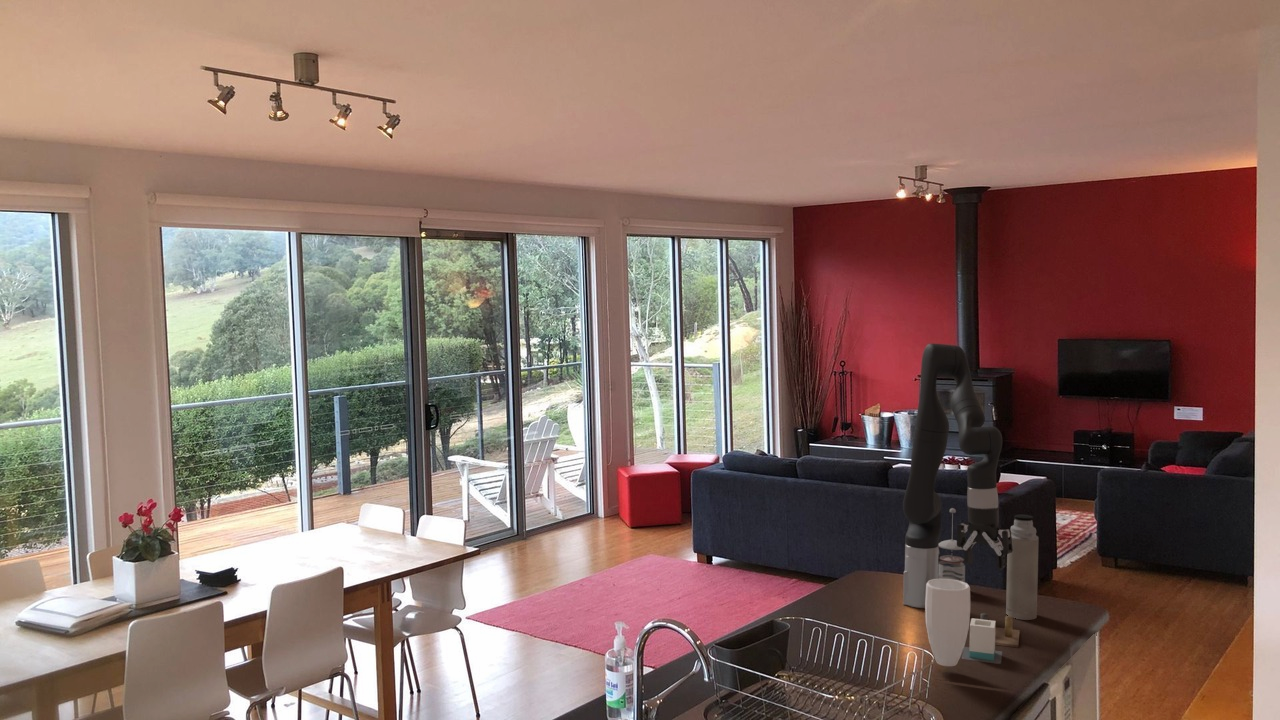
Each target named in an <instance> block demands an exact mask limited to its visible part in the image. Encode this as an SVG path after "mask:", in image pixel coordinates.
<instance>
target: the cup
mask: <svg viewBox="0 0 1280 720" xmlns="http://www.w3.org/2000/svg"><path fill="white" fill-rule="evenodd" d="M924 609H925V610H924V614H925V615H924V616H925V627H926V631H927V637H928V642H929V646H930V648H931V651H932V655H933V657H934V659H935V662H936V664H937V665H940V666H943V667H954V666H957V664H958V663H959V660H960V658H962V654H963V650H964V647H966V646H965V645H966V642H967V639H968V633H969V630H970V622H971V618H970V617H971V587H970V585H969V584H968V583H967V582H966V581H965V582H962V581H958V580H953V579H933V580H930V581H928V582H927V584H926V597H925V608H924Z"/></svg>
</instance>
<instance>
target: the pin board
mask: <svg viewBox="0 0 1280 720" xmlns="http://www.w3.org/2000/svg"><path fill="white" fill-rule="evenodd" d="M979 619H983V620H988V619H989V614H988V613H985V612H983V613H982V612H981V613H980V618H979ZM1013 620H1014V618H1013V617H1011V616H1007V615H1005V616H1004V628H1003V627H997V626H995V646H1002V647H1011V648H1019V643H1020V631H1021V630H1020V629H1014V628H1013V623H1014V622H1013Z"/></svg>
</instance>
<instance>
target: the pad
mask: <svg viewBox="0 0 1280 720" xmlns="http://www.w3.org/2000/svg"><path fill="white" fill-rule="evenodd" d="M1002 657H1003V650H1002V651H1000V650H995V655H994V661H993V660H986V659H978V658H970V657H969V646H964V649H963V651H962V654H961V657H960V658H961V660H967V661H968V660H969V661H974V662H980V663H981V662H983V663H990V664H995V665H1002Z"/></svg>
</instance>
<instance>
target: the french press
mask: <svg viewBox="0 0 1280 720" xmlns="http://www.w3.org/2000/svg"><path fill="white" fill-rule="evenodd" d="M949 513H950V514H951V517H952V518H951V539H946V540H943V541H942V540H941V541H940V542H939V548H940V549H943V550H944V549H945V550H950V551H961V550H963V551H964V549H963V548H961V547H958V546H957V539H956V540H955V539H953V535H954V534H953V529H954V527H953V526H954V525H953V524H954V522H953V521H954V514H955V513H957V510H956V509H955V508H953V507H951V508H950V509H949ZM940 549H938V555H940ZM939 560H940V561H939ZM964 562H965V559H964V558H963V557H961V556H957V555H952V554H951V555H948V554H947V555H941V556H940V557H938V579H953V580H958V581H962V582H965V583H966V563H964ZM946 564H948V565H946Z"/></svg>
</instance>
